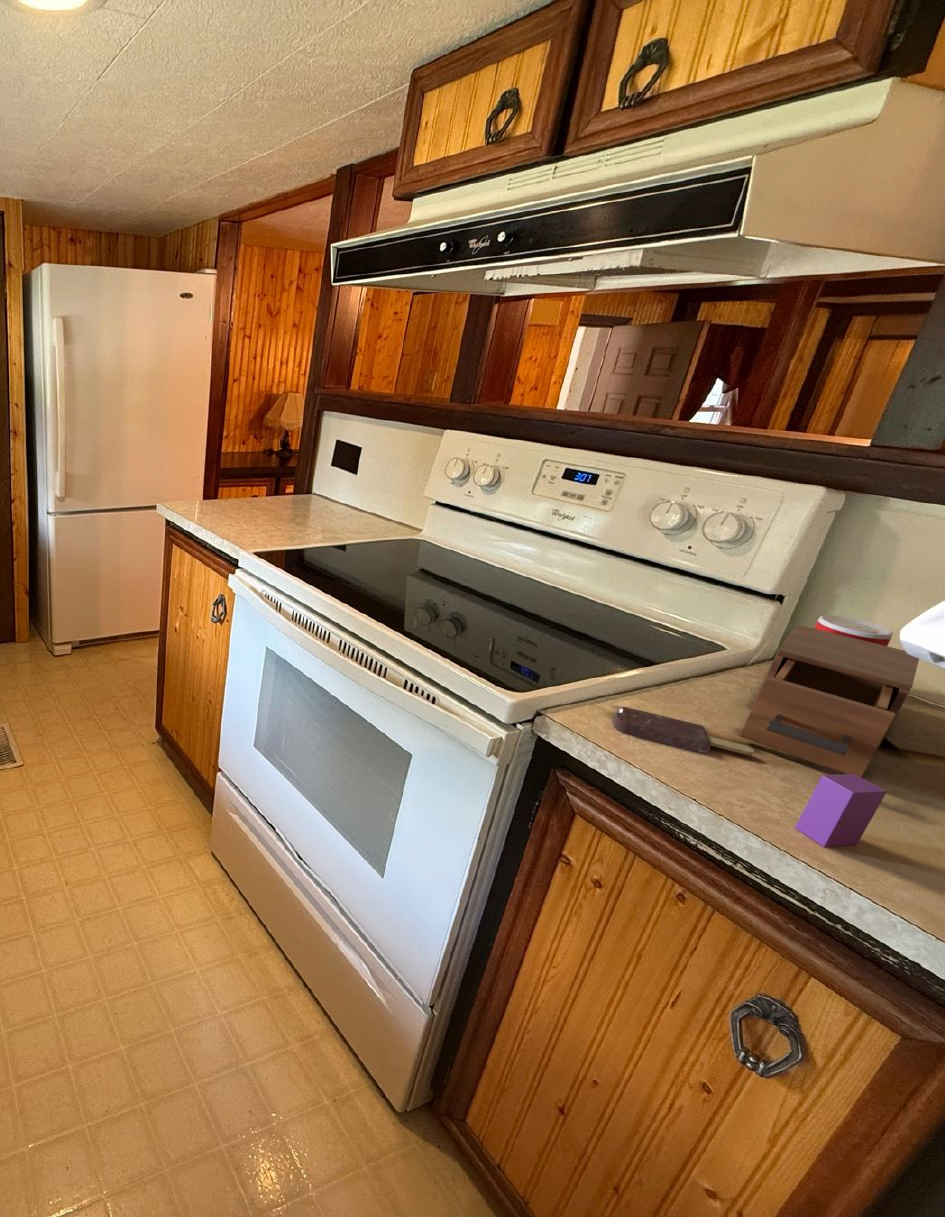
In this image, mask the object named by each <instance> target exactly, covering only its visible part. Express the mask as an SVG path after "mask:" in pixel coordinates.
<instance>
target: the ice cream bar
mask: <svg viewBox="0 0 945 1217" xmlns="http://www.w3.org/2000/svg"><path fill="white" fill-rule="evenodd" d="M612 725H613V727H614V729H615V730H616V731H618V732H620V733H623V734H627V735H630V736H634V737H638V738H642V739H646V740H650V741H654V742H658V743H661V744H666V745H670V746H673V747H677V748H681V749H685V750H689V751H693V752H697V753H699V754H700V753H701V754H709V751H710V749H711V747H715V748H719V749H722V750H728V751H731V752H735V753H739V754H743V755H747V756H752V755H754V752H755V750H754V748H752V747H750V746H748V745H745V744H741V743H737V742H732V741H729V740H725V739H721V738H716V737H713V736H708V733H707V731H706V729H705V727H704V726H703V725H702V724H697V723H694V722H690V721H685V720H682V719H681V720H680V719H678V718H677V719H676V718H672V717H668V716H664V715H661V714H656V713H652V712H648V711H643V710H639V709H635V708H632V707H628V706H627V707H626V706H621V707H619V709H618V712H615V713H614V715H613V718H612Z"/></svg>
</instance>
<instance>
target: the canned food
mask: <svg viewBox="0 0 945 1217" xmlns="http://www.w3.org/2000/svg"><path fill="white" fill-rule="evenodd" d="M813 628H814V629H818V630H822V631H826V632H830V633H834V634H838V635H843V636H847V637H851V638H855V639H859V640H863V641H867V642H871V643H875V644H880V645H884V646H888V647H889V644H890V642H891V640H892V638H893V633H894V632H893V631H892V630H890V629H889V628H887V627H885V626H883V625H880V624H878V623H877V624H876V623H875V622H871V621H867V620H863V619H860V618H854V617H850V616H844V615H838V614H837V615H835V614H824V615H820V616H819V618H818V619H817V621H816V623H815V625H814V627H813Z"/></svg>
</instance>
